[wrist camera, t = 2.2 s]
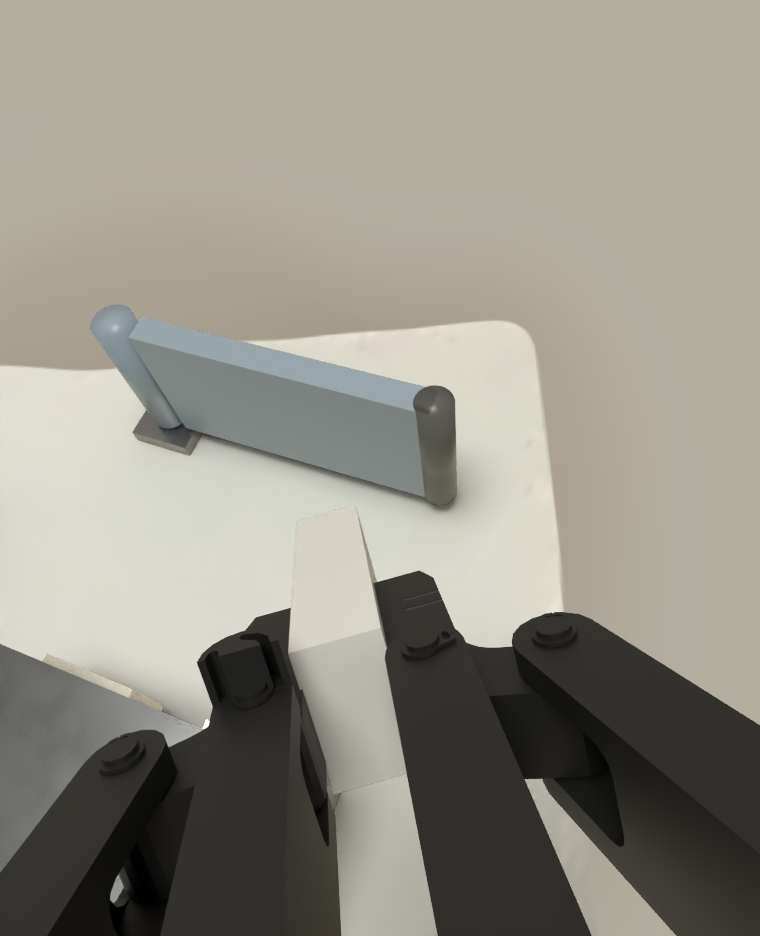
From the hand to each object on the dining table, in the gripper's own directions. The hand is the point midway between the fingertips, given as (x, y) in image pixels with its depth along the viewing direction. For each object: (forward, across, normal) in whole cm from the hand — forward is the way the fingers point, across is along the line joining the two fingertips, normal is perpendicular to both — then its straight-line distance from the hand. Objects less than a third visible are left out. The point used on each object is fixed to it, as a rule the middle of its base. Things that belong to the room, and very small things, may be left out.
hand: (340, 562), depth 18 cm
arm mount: (+31, -10, 0) cm, 33 cm away
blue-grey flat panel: (+27, -2, -2) cm, 27 cm away
